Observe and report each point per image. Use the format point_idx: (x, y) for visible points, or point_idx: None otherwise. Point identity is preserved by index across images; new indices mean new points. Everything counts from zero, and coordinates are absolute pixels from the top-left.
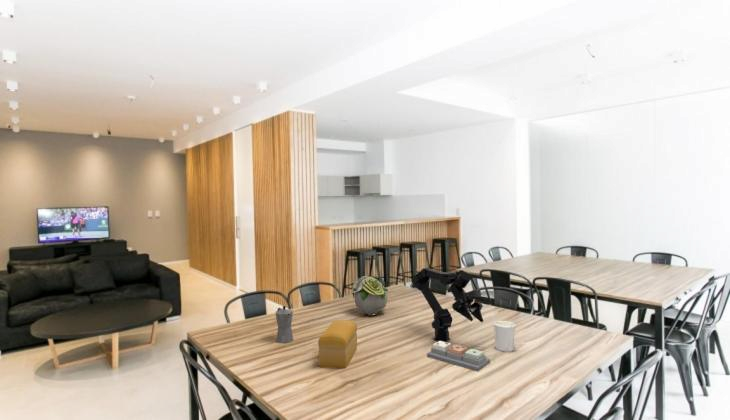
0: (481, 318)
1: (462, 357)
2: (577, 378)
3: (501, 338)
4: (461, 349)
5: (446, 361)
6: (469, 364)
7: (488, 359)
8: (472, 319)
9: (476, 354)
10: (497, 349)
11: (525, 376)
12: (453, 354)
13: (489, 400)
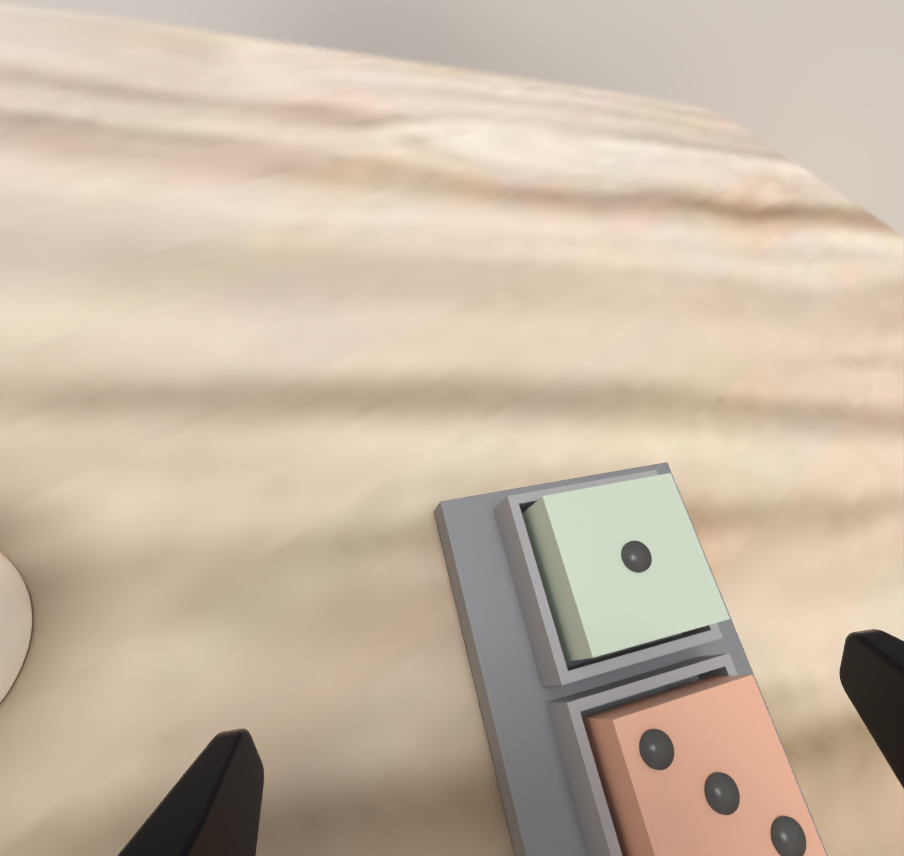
0: (213, 823)
1: (696, 660)
2: (214, 36)
3: None
4: (712, 714)
5: None
6: None
7: (462, 503)
8: (884, 634)
9: (657, 502)
10: (11, 685)
11: (439, 229)
12: None
13: (813, 253)
